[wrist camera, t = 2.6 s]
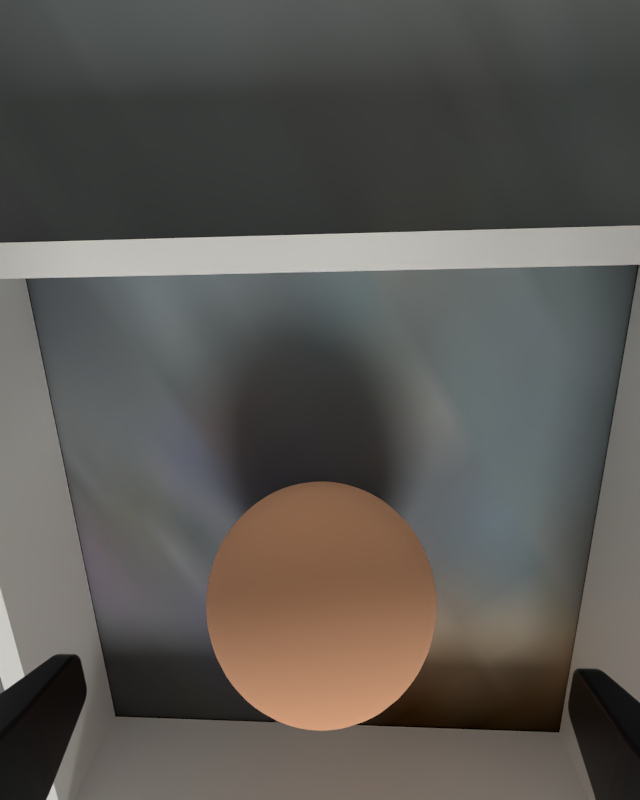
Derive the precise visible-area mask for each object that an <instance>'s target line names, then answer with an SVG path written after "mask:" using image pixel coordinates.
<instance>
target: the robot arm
mask: <svg viewBox="0 0 640 800" xmlns="http://www.w3.org/2000/svg"><path fill="white" fill-rule="evenodd" d="M86 695H87V685H86V681H85V676H84V672H83V668H82V663H81V659H80V657H79V656H78V655H76V654H56V655H54V656H52V657H51V658H49V659H48V660H46V661H45V662H44V663H42V664H41V665H39V666H38V667H37V668H35V669H34V670H33V671H31V672H30V673H28V674H27V675H26V676H24V677H23V678H22V679H20V680H19V681H17V682H16V683H15V684H13V685H12V686H10V687H9V688H8V689H6V690H5V691H4V692H2V693H1V694H0V800H46V799H47V797H48V795H49V792H50V790H51V787H52V785H53V783H54V780H55V778H56V775H57V773H58V770H59V767H60V765H61V762H62V760H63V757H64V755H65V752H66V749H67V747H68V744H69V742H70V739H71V736H72V734H73V731H74V729H75V726H76V724H77V721H78V718H79V716H80V713H81V711H82V708H83V705H84V703H85V700H86ZM568 711H569V717H570V720H571V723H572V727H573V730H574V733H575V736H576V739H577V742H578V745H579V749H580V752H581V755H582V758H583V761H584V764H585V767H586V771H587V774H588V777H589V780H590V783H591V786H592V789H593V793H594V796H595V799H596V800H640V702H639V701H638V700H637V699H635V698H634V697H633V696H632V695H631V694H629V693H628V692H627V691H626V690H625V689H624V688H622V687H621V686H620V685H619V684H618V683H616V682H615V681H614V680H613V679H612V678H611V677H609V676H608V675H607V674H606V673H605V672H603V671H601V670H599V669H591V668H578V669H576V670H575V671H574V673H573V677H572V683H571V688H570V694H569V700H568Z"/></svg>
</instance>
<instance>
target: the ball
mask: <svg viewBox="0 0 640 800" xmlns="http://www.w3.org/2000/svg"><path fill="white" fill-rule="evenodd" d="M436 608H437V607H436V590H435V584H434V578H433V573H432V570H431V567H430V564H429V561H428V558H427V556H426V553H425V550H424V548H423V547H422V545H421V543H420V541H419V539H418V538H417V536H416V534H415V533H414V531H413V530H412V529H411V527H410V526H409V525H408V523H407V522H406V521H405V520H404V519H403V518H402V517H401V516H400V515H399V514H398V513H397V512H396V511H395V510H394V509H393V508H392V507H391V506H389V505H388V504H387V503H385V502H384V501H383V500H381V499H380V498H378V497H376V496H375V495H373V494H371V493H369V492H366V491H364V490H362V489H359V488H357V487H353V486H350V485H347V484H342V483H336V482H325V481H319V482H307V483H301V484H296V485H292V486H289V487H286V488H283V489H280V490H278V491H276V492H274V493H271V494H270V495H268V496H267V497H265V498H263V499H262V500H260V501H259V502H257V503H256V504H254V505H253V506H252V507H251V508H250V509H248V510H247V511H246V512H245V513H244V514H243V515H242V516H241V517H240V519H239V520H238V521H237V522H236V523H235V524H234V525H233V526H232V528H231V529H230V531H229V532H228V534H227V535H226V537H225V538H224V540H223V542H222V544H221V546H220V548H219V550H218V552H217V554H216V556H215V559H214V563H213V566H212V569H211V573H210V576H209V581H208V589H207V598H206V612H207V625H208V630H209V635H210V639H211V643H212V646H213V649H214V652H215V655H216V658H217V660H218V662H219V663H220V665H221V667H222V669H223V671H224V673H225V675H226V677H227V678H228V680H229V681H230V682H231V684H232V685H233V686H234V688H235V689H236V690H237V691H238V692H239V693H240V694H241V695H242V696H243V697H244V699H245V700H246V701H247V702H249V703H250V704H251V705H252V706H253V707H255V708H256V709H258V710H259V711H261V712H262V713H264V714H265V715H267V716H269V717H271V718H273V719H274V720H276V721H278V722H281V723H283V724H286V725H289V726H292V727H296V728H301V729H306V730H316V731H327V730H337V729H342V728H346V727H350V726H353V725H356V724H359V723H362V722H364V721H367V720H369V719H371V718H373V717H375V716H376V715H378V714H380V713H381V712H383V711H384V710H385V709H387V708H388V707H389V706H390V705H392V704H393V703H394V702H395V701H397V700H398V699H399V698H400V697H401V695H402V694H403V693H404V692H405V691H406V690H407V689H408V687H409V686H410V685H411V683H412V682H413V681H414V679H415V678H416V676H417V675H418V673H419V671H420V669H421V667H422V665H423V663H424V661H425V659H426V657H427V655H428V652H429V649H430V646H431V642H432V638H433V634H434V630H435V622H436Z"/></svg>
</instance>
